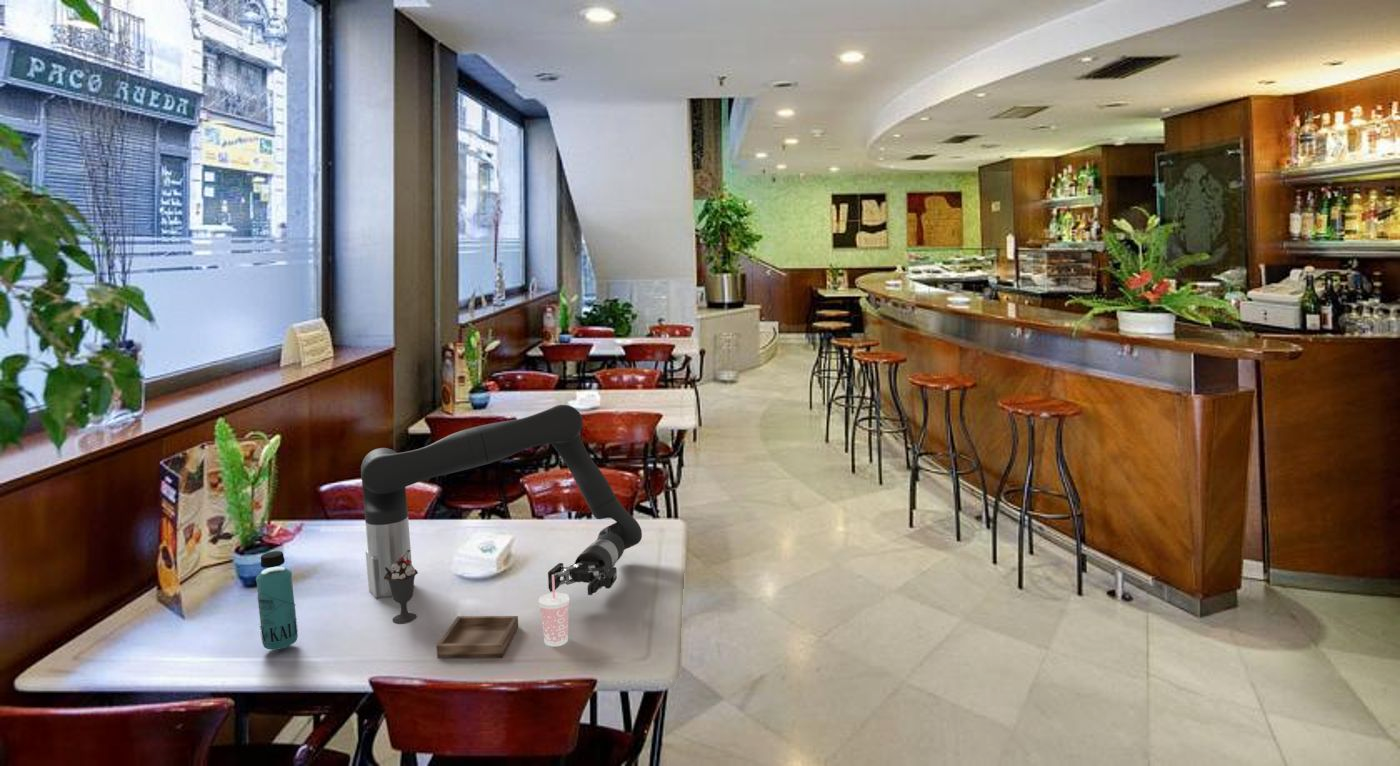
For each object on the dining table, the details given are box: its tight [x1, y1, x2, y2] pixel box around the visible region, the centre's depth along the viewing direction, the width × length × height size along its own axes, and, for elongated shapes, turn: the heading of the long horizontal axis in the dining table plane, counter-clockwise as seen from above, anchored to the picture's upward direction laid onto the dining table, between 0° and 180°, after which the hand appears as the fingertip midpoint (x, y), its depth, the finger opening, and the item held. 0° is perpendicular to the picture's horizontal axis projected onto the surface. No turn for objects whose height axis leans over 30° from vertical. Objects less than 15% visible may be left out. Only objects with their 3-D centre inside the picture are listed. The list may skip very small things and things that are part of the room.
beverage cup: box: [538, 574, 571, 647], centre depth 158 cm, size 6×6×14 cm
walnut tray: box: [436, 615, 519, 659], centre depth 159 cm, size 13×13×3 cm
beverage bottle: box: [255, 550, 299, 650], centre depth 156 cm, size 6×7×20 cm
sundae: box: [384, 550, 419, 624], centre depth 169 cm, size 7×7×15 cm
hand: (570, 589), depth 166 cm, fingers open, 8 cm apart
